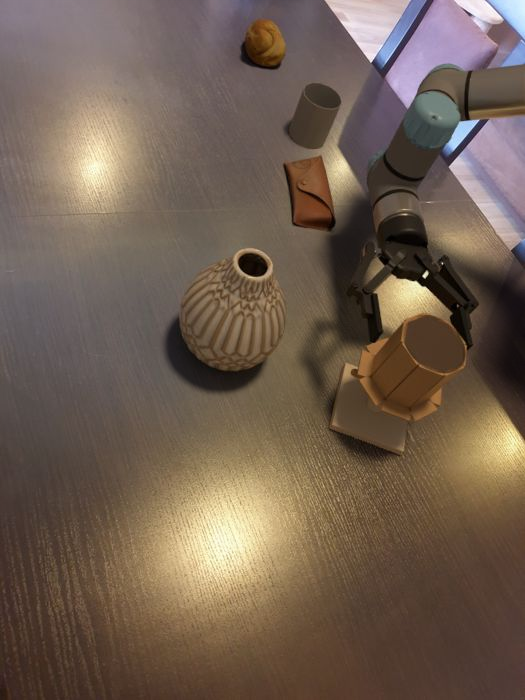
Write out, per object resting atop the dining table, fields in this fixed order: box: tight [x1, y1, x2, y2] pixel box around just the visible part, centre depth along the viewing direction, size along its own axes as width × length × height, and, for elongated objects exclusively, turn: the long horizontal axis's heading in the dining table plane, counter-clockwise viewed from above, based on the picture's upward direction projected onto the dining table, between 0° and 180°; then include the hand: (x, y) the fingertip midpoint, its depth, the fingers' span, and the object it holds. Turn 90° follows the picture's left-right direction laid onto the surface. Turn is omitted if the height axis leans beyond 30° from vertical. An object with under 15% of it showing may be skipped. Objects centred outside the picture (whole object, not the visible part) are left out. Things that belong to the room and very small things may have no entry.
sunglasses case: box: [283, 154, 337, 232], centre depth 113 cm, size 18×7×7 cm, turn 7°
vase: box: [178, 247, 287, 372], centre depth 82 cm, size 16×16×20 cm
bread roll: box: [244, 19, 287, 68], centre depth 133 cm, size 13×10×8 cm
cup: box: [288, 82, 343, 150], centre depth 120 cm, size 8×8×10 cm
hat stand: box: [328, 362, 408, 456], centre depth 83 cm, size 13×12×20 cm
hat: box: [357, 312, 467, 422], centre depth 79 cm, size 13×13×10 cm
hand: (421, 344), depth 78 cm, fingers open, 13 cm apart
